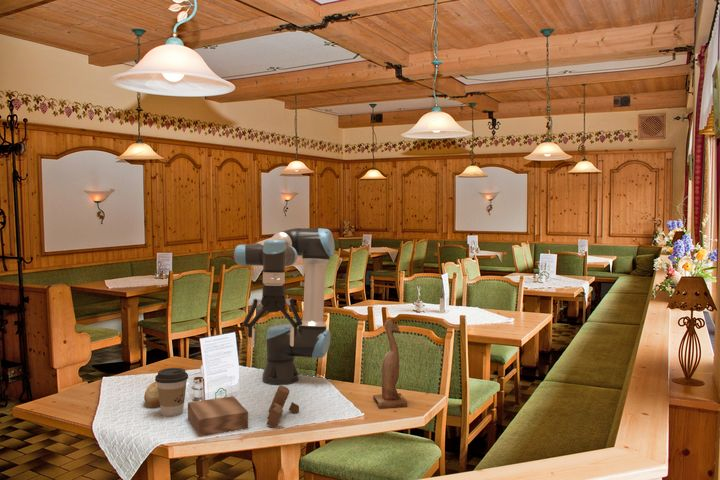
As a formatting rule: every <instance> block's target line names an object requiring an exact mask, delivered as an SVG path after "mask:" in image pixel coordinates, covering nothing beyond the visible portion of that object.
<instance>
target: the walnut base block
mask: <svg viewBox="0 0 720 480" xmlns="http://www.w3.org/2000/svg"><path fill="white" fill-rule="evenodd" d="M187 419H188V421H189V422H190V425H191V426H192V428H193V429H194V431H195V432H196V434H197V436H198V437H199V438H200V437H205V436H206V437H207V436H213V435H218V433H219V434H223V433H224V432H225V433H229V431H231V432H235V430H237V431H241V429H243V430H248V429H249V411H248V410H247V409H246V407H244V405H243V404H241V402H240V401H239V400H238V399H237V398H236V397H235V396H234V395H233V396H232V395H231V396H226V397H217V398H212V399H211V398H210V399H204V400H197V401H190V402H187ZM247 428H248V429H247Z"/></svg>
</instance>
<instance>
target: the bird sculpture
mask: <svg viewBox="0 0 720 480" xmlns="http://www.w3.org/2000/svg"><path fill="white" fill-rule="evenodd" d="M384 330H385V333H386V335H387V339H388V343H389V351H387V352H386V353H385V355H384V357H383V359H382V365H381V366H382V367H381V394H373V395H372V400H376V401H377V405H378V409H380V408H381V409H387V408H388V409H390V408H393V409H395V408H404V407H405V408H407V406H408V400H407V399H406V398H405V397H404V396H403V394H402V393H401V392H399V393H398V390H397V388H396V384H397V383H398V381H399V377H400V353H399V347H398V345H397V342H396V340H395V336H394V333H399V334H400V327H399V326H398V325H397V324H396V323H394V322H393V320H392V319H391V318H389V319H387V320H386V321H385V322H384Z"/></svg>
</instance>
